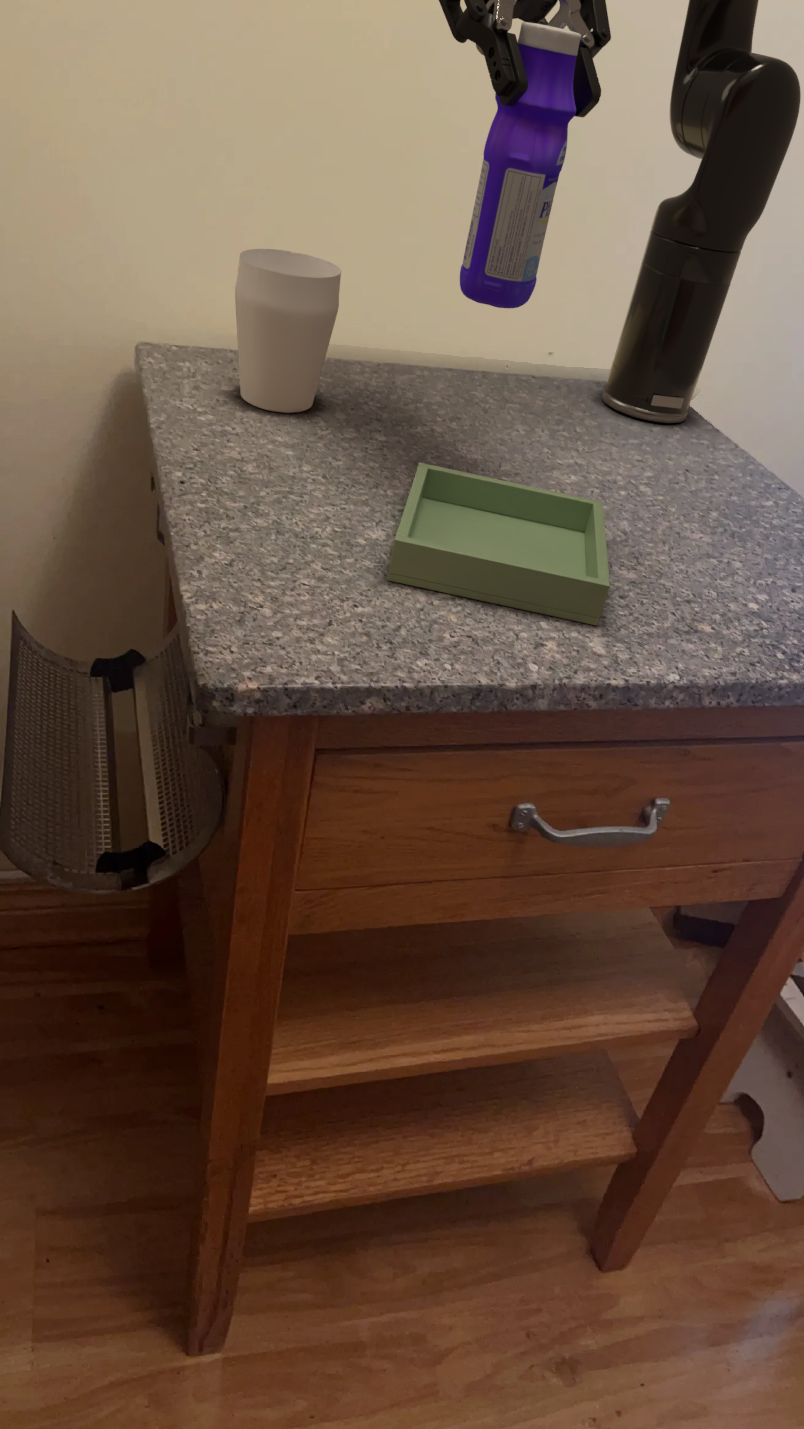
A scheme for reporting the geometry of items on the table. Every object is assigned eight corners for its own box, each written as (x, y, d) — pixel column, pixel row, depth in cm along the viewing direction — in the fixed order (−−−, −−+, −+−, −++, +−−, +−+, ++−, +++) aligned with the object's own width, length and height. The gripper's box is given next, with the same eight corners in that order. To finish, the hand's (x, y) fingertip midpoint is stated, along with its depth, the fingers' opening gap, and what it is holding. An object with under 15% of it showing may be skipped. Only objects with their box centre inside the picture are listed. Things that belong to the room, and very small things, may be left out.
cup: (344, 406, 97) (363, 272, 90) (285, 426, 90) (301, 283, 83) (268, 376, 100) (281, 245, 93) (206, 393, 93) (215, 253, 87)
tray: (412, 498, 82) (419, 462, 80) (592, 537, 82) (603, 501, 80) (386, 580, 70) (394, 539, 68) (597, 626, 70) (610, 586, 68)
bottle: (524, 318, 75) (591, 36, 65) (449, 300, 75) (504, 17, 66) (534, 297, 81) (597, 36, 71) (464, 280, 81) (517, 18, 72)
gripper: (431, -209, 63) (500, 48, 63) (603, -152, 71) (667, 79, 70) (373, -106, 70) (436, 129, 69) (537, -63, 77) (595, 149, 76)
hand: (552, 103), depth 70 cm, fingers closed on bottle, 5 cm apart
